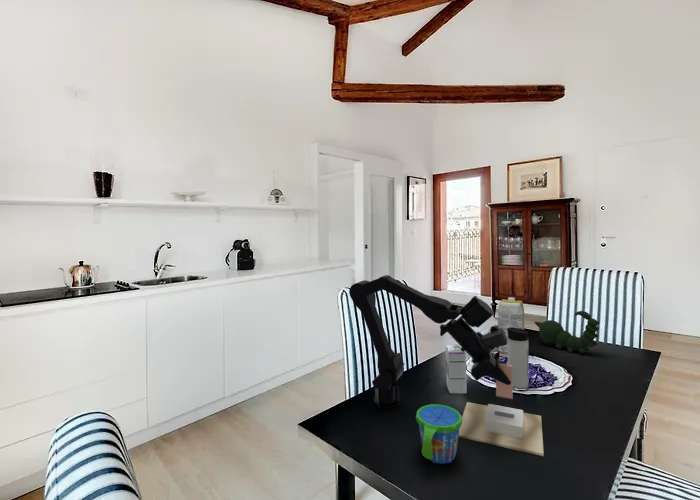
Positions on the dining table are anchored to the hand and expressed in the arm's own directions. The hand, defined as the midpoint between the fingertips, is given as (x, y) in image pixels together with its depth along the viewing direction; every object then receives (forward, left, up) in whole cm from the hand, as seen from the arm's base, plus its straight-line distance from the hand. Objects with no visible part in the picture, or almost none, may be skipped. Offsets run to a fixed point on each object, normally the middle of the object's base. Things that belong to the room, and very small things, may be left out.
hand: (509, 382), depth 94 cm
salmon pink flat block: (-1, +1, -4) cm, 4 cm away
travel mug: (+19, +19, -13) cm, 30 cm away
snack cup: (-23, -3, -13) cm, 27 cm away
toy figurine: (+62, +41, -13) cm, 75 cm away
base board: (-1, +1, -13) cm, 13 cm away
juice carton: (+36, +42, -13) cm, 57 cm away
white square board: (-1, +1, -13) cm, 13 cm away
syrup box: (-1, +24, -13) cm, 28 cm away
